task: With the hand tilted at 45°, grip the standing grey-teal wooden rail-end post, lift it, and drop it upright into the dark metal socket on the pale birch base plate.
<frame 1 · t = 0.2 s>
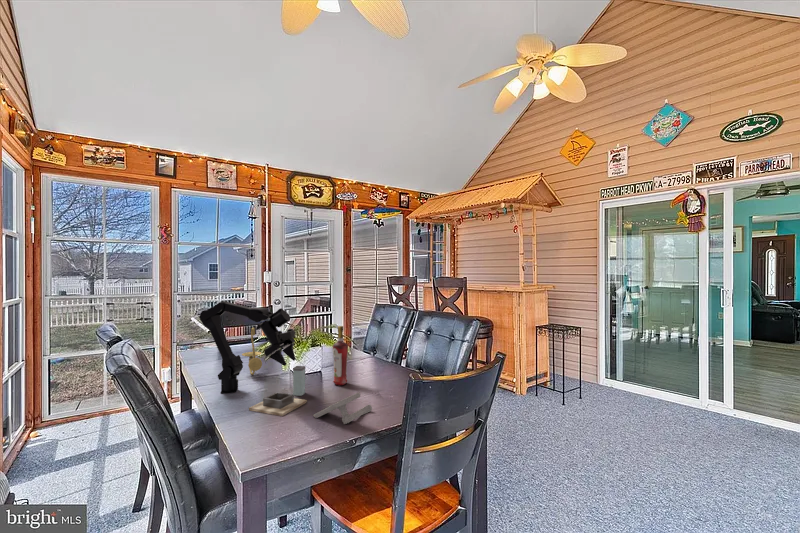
hand: (290, 362, 172), 14 cm above the table, tool tilted 35°, fingers open, 9 cm apart
rail end post: (299, 394, 173), on the table
liquor: (340, 384, 188), on the table
post socket: (278, 406, 158), on the table
wall sconce: (252, 375, 203), on the table
door handle: (345, 417, 149), on the table
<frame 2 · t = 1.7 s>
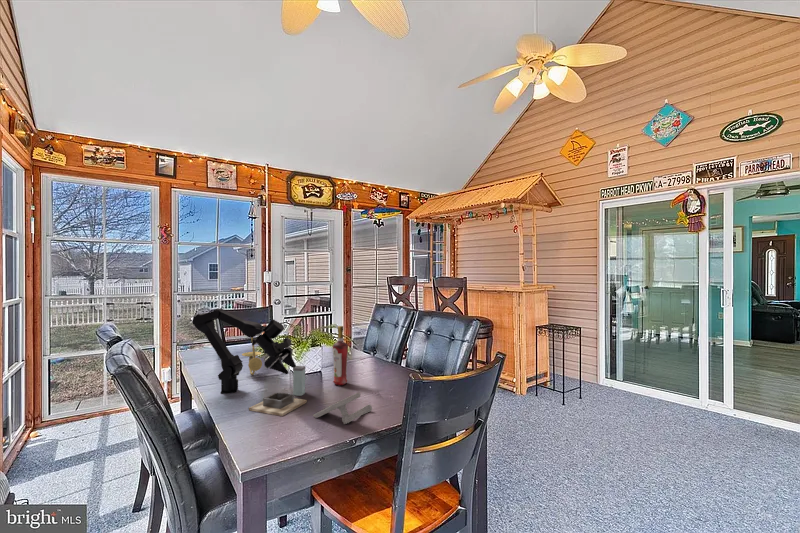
hand: (291, 370, 173), 10 cm above the table, tool tilted 45°, fingers open, 9 cm apart
nothing on the table moved.
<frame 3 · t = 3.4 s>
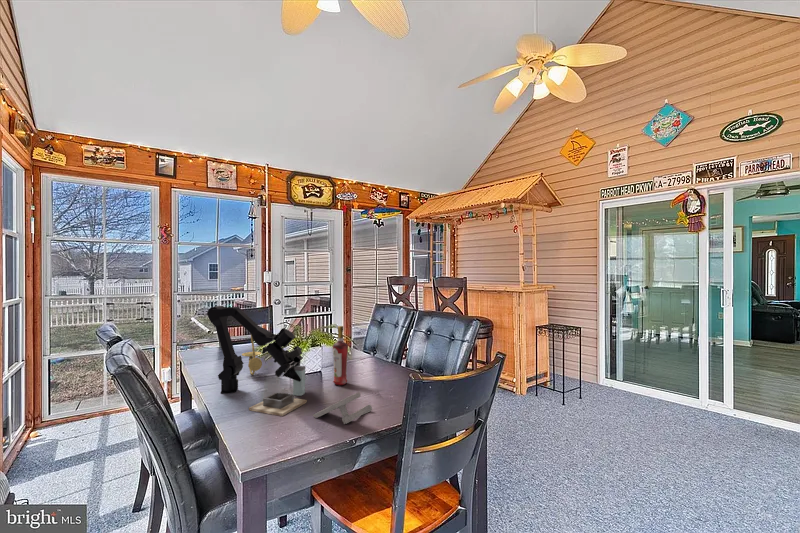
hand: (302, 379, 173), 7 cm above the table, tool tilted 45°, fingers closed on rail end post, 4 cm apart
rail end post: (299, 394, 173), on the table, touching gripper
everything else where it was.
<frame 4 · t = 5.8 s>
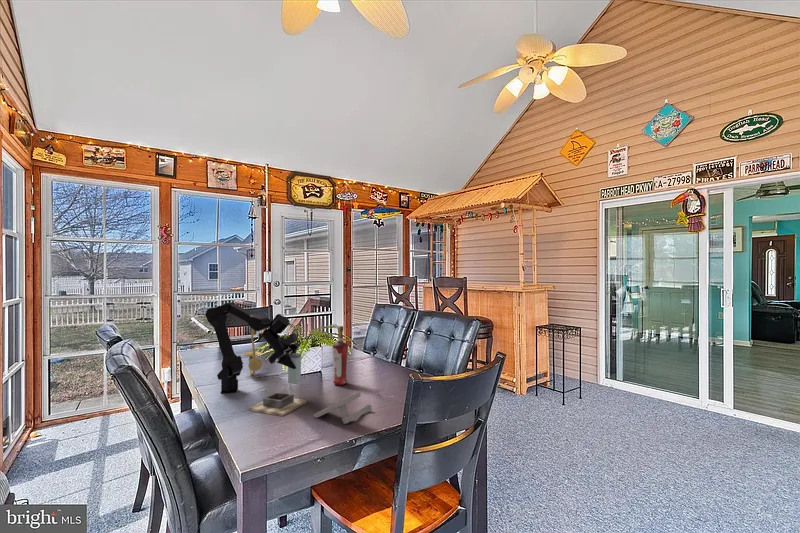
hand: (297, 367, 167), 13 cm above the table, tool tilted 45°, fingers closed on rail end post, 4 cm apart
rail end post: (294, 382, 168), point 7 cm above the table, touching gripper
everything else where it was.
when the fingers open (9 cm above the table, at t = 8.0 s): rail end post drops 1 cm, resting on post socket.
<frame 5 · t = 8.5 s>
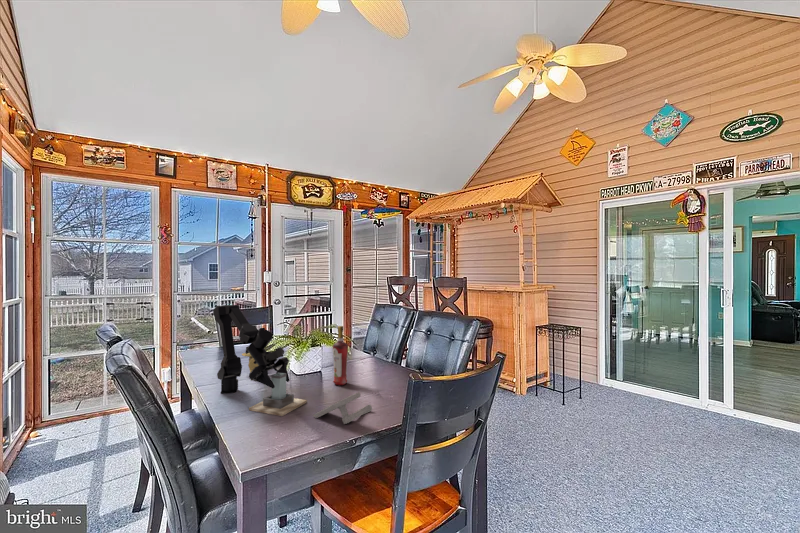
hand: (281, 384, 157), 9 cm above the table, tool tilted 45°, fingers open, 9 cm apart
rail end post: (278, 403, 158), point 1 cm above the table, touching post socket
everything else where it was.
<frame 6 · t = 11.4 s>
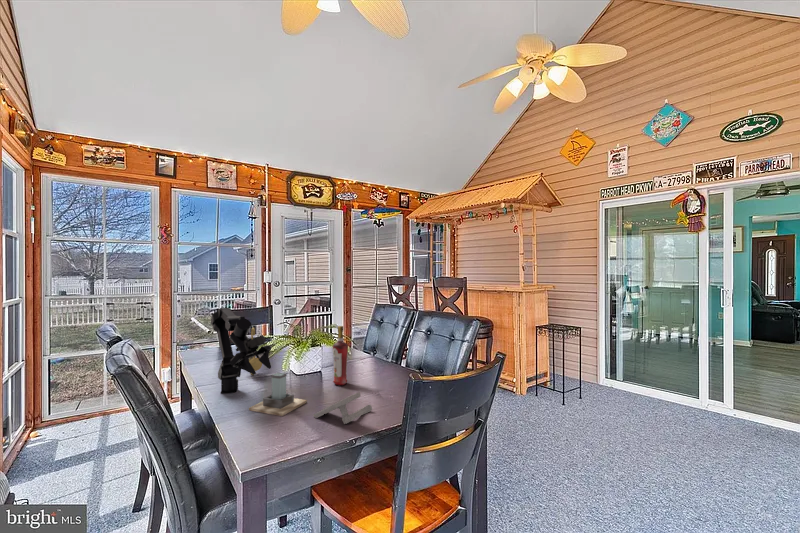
hand: (262, 371, 161), 14 cm above the table, tool tilted 45°, fingers open, 9 cm apart
nothing on the table moved.
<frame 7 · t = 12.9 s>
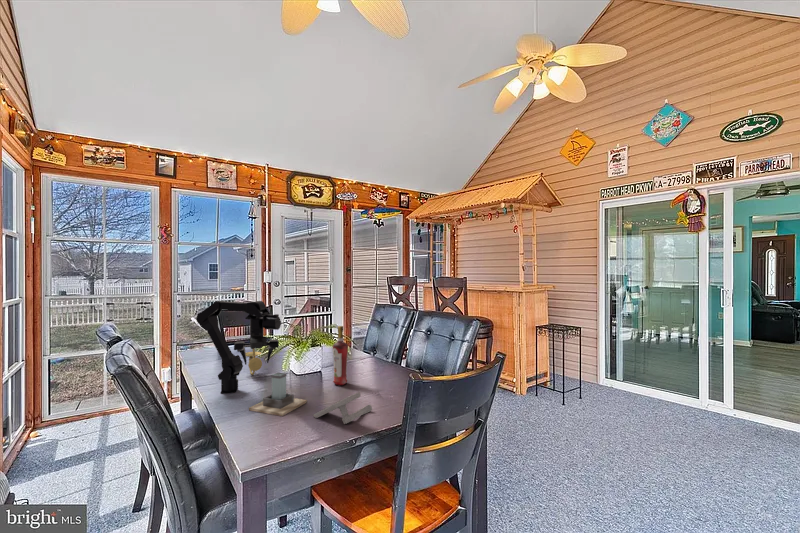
hand: (256, 363, 175), 13 cm above the table, tool pointing down, fingers open, 9 cm apart
nothing on the table moved.
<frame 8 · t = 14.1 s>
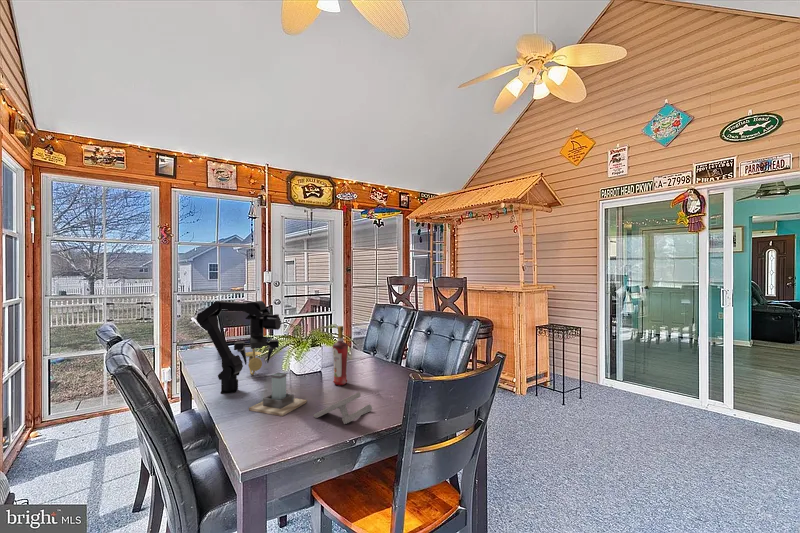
hand: (256, 363, 175), 13 cm above the table, tool pointing down, fingers open, 9 cm apart
nothing on the table moved.
at the end: rail end post 0.0 cm off-centre on the post socket, point 1.0 cm above the post socket's base; rail end post tilted 0°; the gripper is holding nothing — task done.
